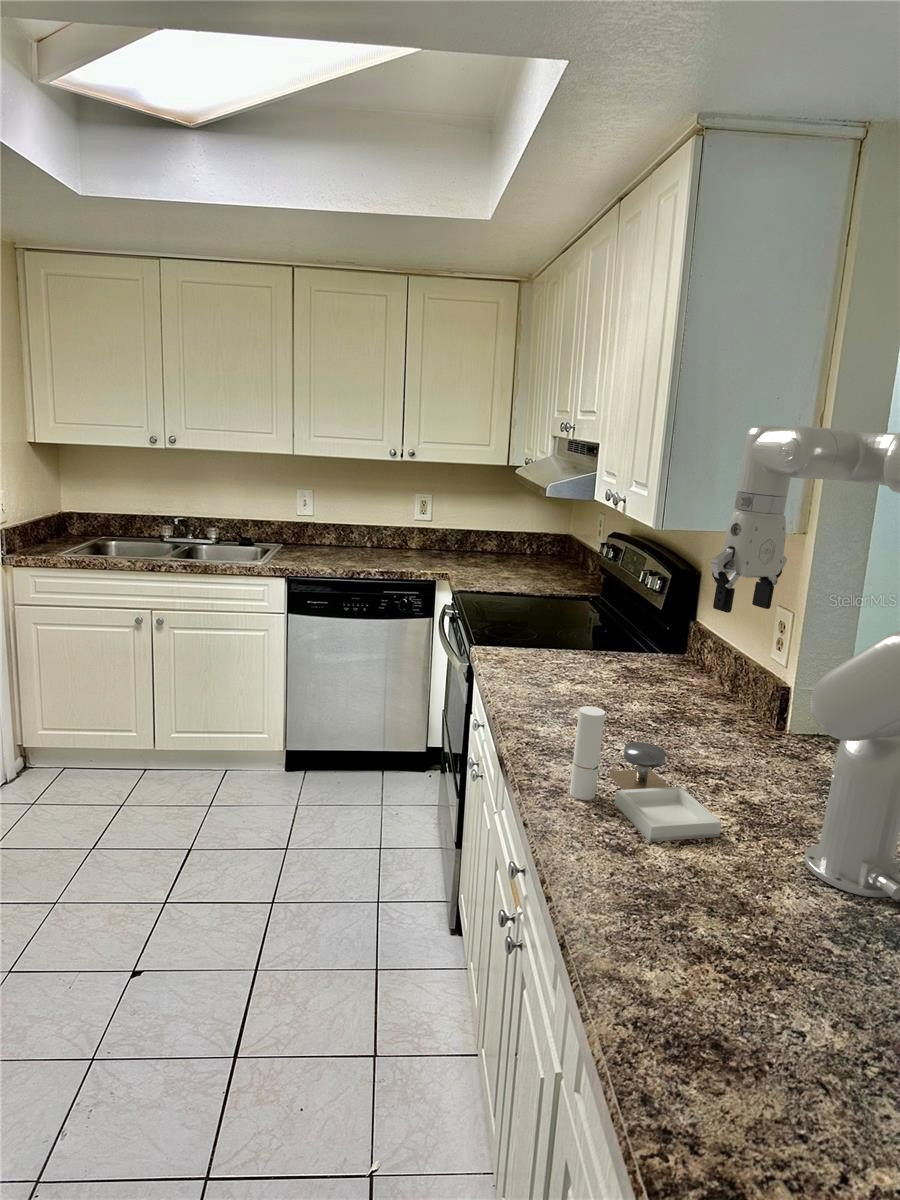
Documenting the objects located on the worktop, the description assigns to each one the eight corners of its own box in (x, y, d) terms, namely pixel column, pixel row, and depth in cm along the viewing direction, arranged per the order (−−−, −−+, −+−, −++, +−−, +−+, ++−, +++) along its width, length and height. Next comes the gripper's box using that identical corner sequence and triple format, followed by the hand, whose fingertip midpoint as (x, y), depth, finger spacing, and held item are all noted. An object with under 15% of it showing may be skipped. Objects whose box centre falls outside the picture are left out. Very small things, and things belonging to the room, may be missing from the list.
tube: (575, 800, 128) (585, 716, 125) (565, 789, 132) (574, 706, 129) (599, 799, 130) (609, 715, 126) (588, 787, 134) (598, 705, 130)
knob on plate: (672, 794, 133) (677, 759, 132) (630, 797, 131) (635, 761, 130) (649, 774, 141) (654, 740, 139) (609, 776, 139) (614, 741, 137)
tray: (719, 836, 120) (721, 822, 119) (649, 841, 117) (651, 826, 116) (678, 800, 131) (680, 786, 131) (614, 804, 128) (616, 790, 128)
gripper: (743, 508, 116) (724, 618, 120) (814, 508, 125) (794, 611, 129) (704, 501, 122) (687, 606, 126) (774, 502, 131) (756, 600, 135)
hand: (741, 608), depth 127 cm, fingers open, 9 cm apart
